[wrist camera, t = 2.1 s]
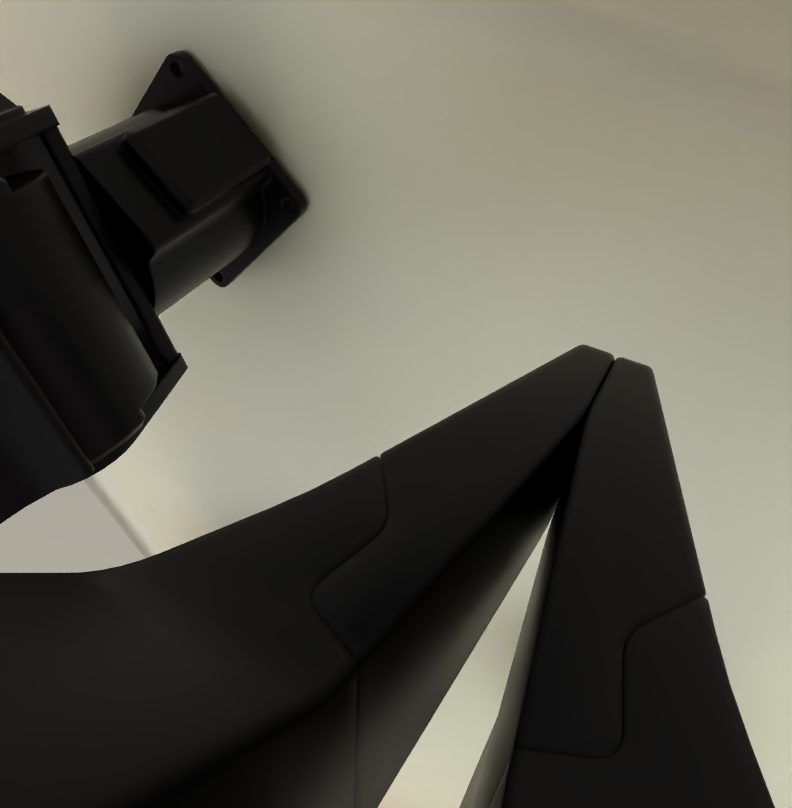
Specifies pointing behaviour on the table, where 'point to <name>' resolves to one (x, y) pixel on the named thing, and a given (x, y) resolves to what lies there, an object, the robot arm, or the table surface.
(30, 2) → the table surface
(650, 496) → the robot arm
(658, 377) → the table surface
